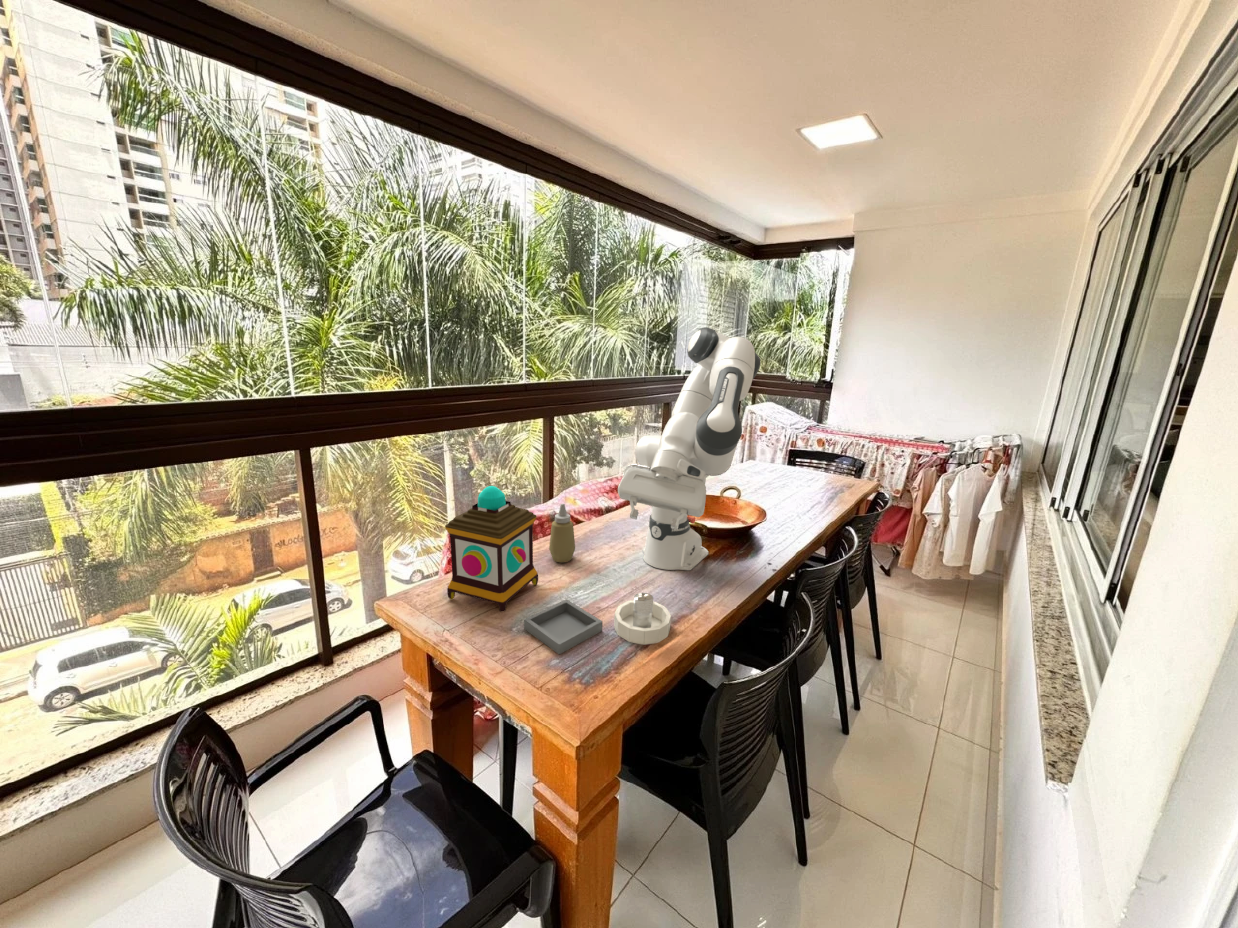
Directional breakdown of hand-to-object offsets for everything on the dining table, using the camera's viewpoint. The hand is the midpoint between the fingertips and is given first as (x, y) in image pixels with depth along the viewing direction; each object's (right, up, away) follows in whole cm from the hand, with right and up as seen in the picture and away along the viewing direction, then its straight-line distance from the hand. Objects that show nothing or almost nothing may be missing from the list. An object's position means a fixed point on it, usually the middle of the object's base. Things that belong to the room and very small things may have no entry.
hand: (653, 522), depth 111 cm
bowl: (-2, -27, +9) cm, 29 cm away
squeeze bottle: (-25, -17, +44) cm, 53 cm away
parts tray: (-21, -27, +7) cm, 35 cm away
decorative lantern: (-41, -22, +24) cm, 52 cm away
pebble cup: (-2, -26, +9) cm, 28 cm away
